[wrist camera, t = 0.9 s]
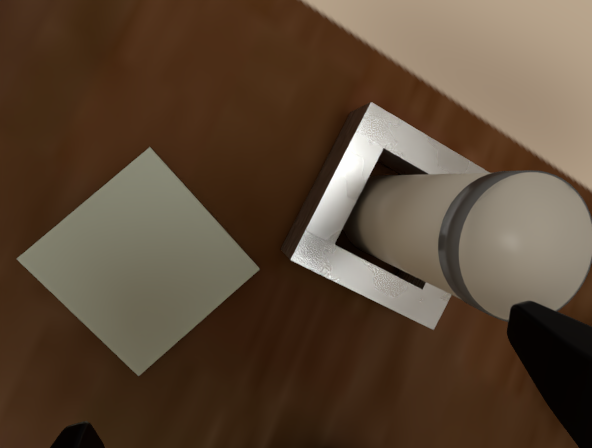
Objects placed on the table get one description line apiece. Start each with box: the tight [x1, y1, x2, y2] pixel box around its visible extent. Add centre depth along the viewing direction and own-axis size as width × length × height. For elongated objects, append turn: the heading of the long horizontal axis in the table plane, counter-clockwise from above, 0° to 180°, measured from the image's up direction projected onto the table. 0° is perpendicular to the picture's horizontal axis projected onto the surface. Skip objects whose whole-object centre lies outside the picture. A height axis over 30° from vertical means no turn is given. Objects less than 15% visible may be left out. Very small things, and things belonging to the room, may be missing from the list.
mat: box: [17, 147, 259, 376], centre depth 24 cm, size 9×9×1 cm
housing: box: [281, 102, 489, 330], centre depth 25 cm, size 9×9×4 cm
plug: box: [343, 171, 592, 322], centre depth 20 cm, size 5×5×13 cm
